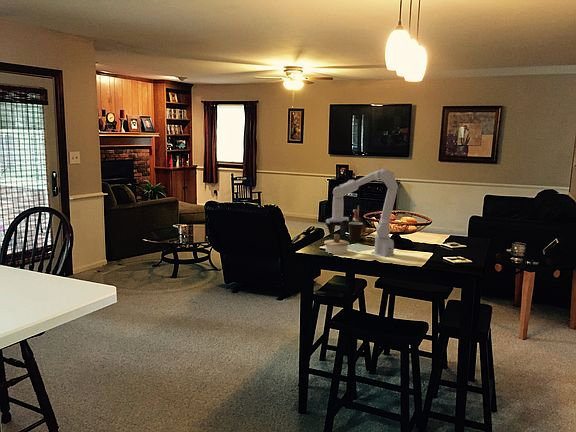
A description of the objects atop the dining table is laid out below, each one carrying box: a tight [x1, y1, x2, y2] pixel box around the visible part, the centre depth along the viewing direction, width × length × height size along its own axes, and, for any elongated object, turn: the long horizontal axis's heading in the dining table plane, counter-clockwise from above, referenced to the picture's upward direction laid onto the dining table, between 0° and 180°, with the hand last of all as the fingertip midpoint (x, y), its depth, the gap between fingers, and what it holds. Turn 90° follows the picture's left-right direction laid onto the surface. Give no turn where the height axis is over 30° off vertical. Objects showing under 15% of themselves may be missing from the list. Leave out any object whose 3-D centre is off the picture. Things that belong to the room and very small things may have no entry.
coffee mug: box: [348, 221, 363, 242], centre depth 291 cm, size 12×9×10 cm
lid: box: [323, 233, 350, 246], centre depth 257 cm, size 13×13×5 cm
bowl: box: [325, 244, 348, 255], centre depth 258 cm, size 11×11×4 cm
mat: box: [347, 243, 375, 253], centre depth 269 cm, size 15×15×1 cm
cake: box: [351, 205, 366, 235], centre depth 309 cm, size 11×9×18 cm
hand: (337, 235), depth 257 cm, fingers open, 7 cm apart
